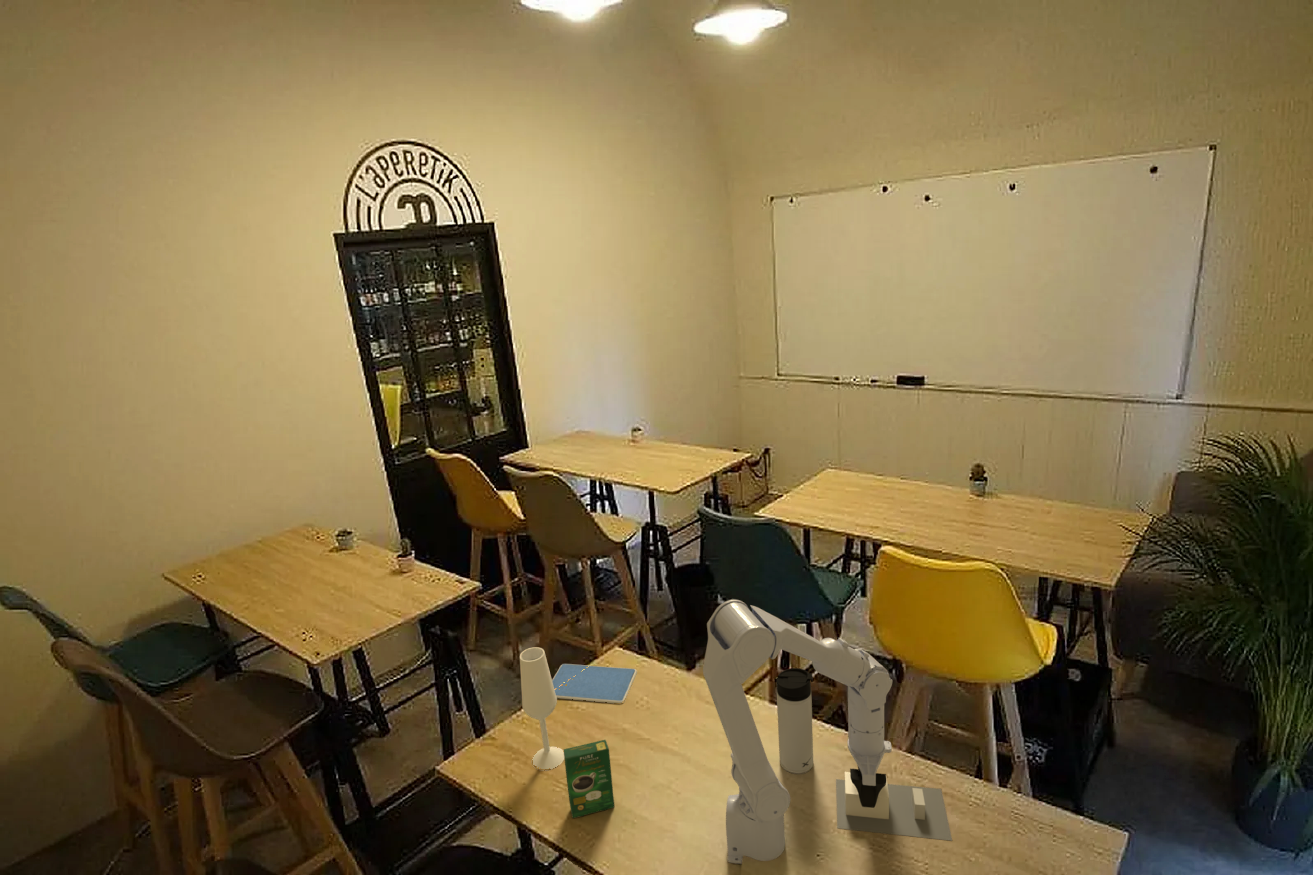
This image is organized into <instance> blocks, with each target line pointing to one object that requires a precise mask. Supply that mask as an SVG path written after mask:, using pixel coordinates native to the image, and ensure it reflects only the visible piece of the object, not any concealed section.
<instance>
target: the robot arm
mask: <svg viewBox="0 0 1313 875" xmlns="http://www.w3.org/2000/svg"><path fill="white" fill-rule="evenodd" d="M750 608H751V610H752V611H751V610H750ZM750 608H749V607H748V605H747V604H746V603H745V602H743V600H739V599H729V600H726V601H724V602H723V603H721V604H720V605H718V606H717V608H716V609H715V610H714V612H713V613H712V615H711V617H710V618H709V620H708V621H707V623H706V628H707V644H706V650H705V654H704V661H703V666H702V672H703V677H704V680H705V682H706V685H707V688H708V691H709V693H710V695H711V698H712V701H713V704H714V707H715V709H716V712H717V715H718V717H719V720H720V723H721V726H722V729H723V731H724V734H725V736H726V739H727V742H728V744H729V747H730V750H731V753H730V758H731V761H732V762H731V763H732V766H731V769H730V770H731V771H730V772H731V773H730V774H731V777H732V779H733V780H734V782H735V783H736V784H737V786H738V790H739V792H738V794H729V795H728V797H727V800H726V808H725V810H726V811H725V834H726V846H727V862H728V863H730V864H731V863H732V864H739V865H742V864H743V858H744V856H745V857H748V858H751V859H753V860H756V861H760V862H761V861H762V862H769V861H773V860H775V859H778V858H779V856H781V855H782V854H783V852H784V850H785V848H786V837H785V836H786V835H785V834H786V832H785V813H786V812H787V811H788V809H789V807H790V804H791V795H790V793H789V790H788V789H787V788H786V787H785V786H784V785H783V784H782V782H781V781H780V779H779V778H778V776H777V775H776V772H775V770H774V769H773V766H772V765H771V763H770V761H769V758H768V757H767V754H766V751H765V748H764V745H763V743H762V740H761V737H760V733H759V730H758V728H757V726H756V722H755V718H754V717H753V714H752V711H751V708H750V705H749V701H748V698H747V696H746V693H745V691H744V687H743V685H742V684H744V683H745V682H746V681H747V680H748V679H749V678H750V677H751V676H752V675H753V674H754V673H755V672H756V671H757V670H758V669H759V668H761V667H762V666H763V665H764V664H765V663H766V662H767V661H768V660H769V658H770V659H771V660H774V659H776V657H777V656H778V655H779V653H780V651H781V650H783V651H785V652H787V653H789V654H792V655H795V656H798V657H801V659H802V658H803V659H806V660H808V661H810V662H811V663H812V666H813V668H814V670H815V671H816V672H817V673H819V674H820V675H823V676H825V677H827V678H829V679H832V680H833V681H836V682H838V683H841V685H842V684H843V685H845V686H847V702H848V703H847V707H848V708H847V709H848V710H847V713H848V714H847V715H848V724H847V725H848V732H847V734H848V735H847V736H848V737H847V738H848V739H847V749H848V751H849V753H850V755H851V756H852V758H853V760H854V761H855V763H856V765H857V768H849V772H850V777H851V781H852V783H853V784H854V785H855V787H856V789H857V791H858V794H859V799H860V802H861V805H862V807H870V808H874V807H875V805H876V802H877V798H878V795H879V793H880V791H881V789H882V788H883V787H884V786H885V785H886V776H887V774H886V773H878V772H877V771H878V769H879V767H880V765H881V762H882V759H883V758H884V756H885V754H890V753H892V752H893V751H892V749H893V748H892V743H891V741H888V740H885V704H886V703H887V695H888V693H889V692H890V690H891V687H892V684H893V679H891V677H890V674H889V671H888V670H887V669H886V668H885V667H884V666H883V665H882V664H881V663H879V661H877V660H876V659H875V657H873V656H872V655H871V654H870V653H869V652H867V651H865V649H864V648H861V647H860V648H859V647H858V648H852V647H851V646H850V644H849V643H848V642H847V641H846V640H845V639H843V638H842V637H837V638H838V639H837V640H836V639H835V638H832V637H825V638H822V639H821V640H818V639H817V638H815V637H813V636H812V635H810V634H808V633H806V632H804V631H803V630H800V629H798V628H797V627H795V626H793V625H791V624H790V623H788V622H785V621H784V620H782V619H780V618H779V617H777V616H775V615H773V614H771V613H769V612H767V611H765V610H764V609H761V608H760V607H758V606H755V605H751V604H750Z"/></svg>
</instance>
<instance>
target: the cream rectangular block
mask: <svg viewBox="0 0 1313 875" xmlns="http://www.w3.org/2000/svg"><path fill="white" fill-rule="evenodd" d="M887 779H888V777H887V775H886V785H885V786H884V787H883V788H882V789H881V791H880V793H879V795H878V798H877V802H876V805H875V807H874V808H870V807H862V805H861V802H860V799H859V794H858V791H857V789H856V787H855V785H854V784H853V783H852V781H851V777H850V771H844V780H845V806H846V815H852V816H862V817H871V818H881V819H889V793H888V785H887V784H888V780H887Z"/></svg>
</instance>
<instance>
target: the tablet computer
mask: <svg viewBox="0 0 1313 875" xmlns="http://www.w3.org/2000/svg"><path fill="white" fill-rule="evenodd" d="M588 666H589V667H588ZM586 667H588V668H586ZM583 669H585V670H583ZM582 670H583V671H582ZM581 671H582V672H581ZM637 674H638V670H637V669H635V668H628V667H613V666H598V665H584V664H572V663H562V664H561V665H560V666H559V668H558V670H557V672H555V674H554V676H553V678H552V682H553V686H554V689H555V688H557V689H556V690H555V694H556V698H557V699H561V700H562V699H563V700H572V699H573V700H575V701H583V700H586V702H594V701H595V702H596V703H605V702H607V703H606V704H614V703H622V702H623V701H624V700H625V698H626V699H627V697H628V695H629V693H628V691H629V690H631V688H632V686H633V684H632V683H634V681H635V679H636V676H637ZM575 675H576V676H575ZM573 676H575V677H573ZM570 678H571V679H570ZM568 679H570V680H569V681H568ZM572 679H573V680H572ZM567 681H568V682H567ZM563 682H565V683H563ZM561 684H563V686H560V685H561ZM566 684H567V686H565V685H566ZM631 685H632V686H631ZM559 686H560V687H559ZM630 687H631V688H630ZM559 689H560V690H559ZM629 692H630V691H629ZM627 694H628V695H627ZM626 696H627V697H626ZM625 701H626V700H625ZM595 702H594V703H595Z"/></svg>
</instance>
